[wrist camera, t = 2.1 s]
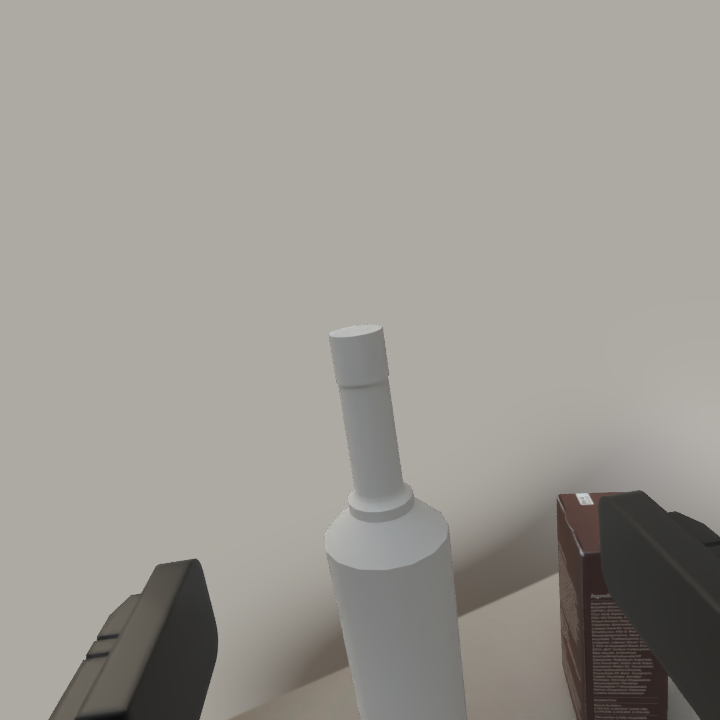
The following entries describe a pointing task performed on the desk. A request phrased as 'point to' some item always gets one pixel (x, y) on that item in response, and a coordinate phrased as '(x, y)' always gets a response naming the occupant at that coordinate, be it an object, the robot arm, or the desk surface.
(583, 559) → the box
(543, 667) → the desk surface
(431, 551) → the bottle
